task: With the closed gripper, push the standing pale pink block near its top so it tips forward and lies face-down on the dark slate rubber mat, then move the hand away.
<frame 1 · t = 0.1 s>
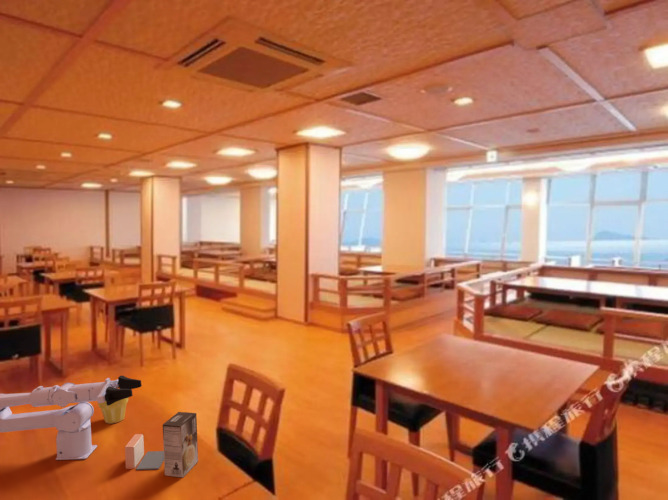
hand: (136, 388, 146), 22 cm above the table, tool horizontal, fingers open, 7 cm apart
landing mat: (152, 460, 142), on the table
coffee box: (181, 469, 137), on the table
pale pink block: (134, 461, 142), on the table
plant pot: (114, 420, 170), on the table
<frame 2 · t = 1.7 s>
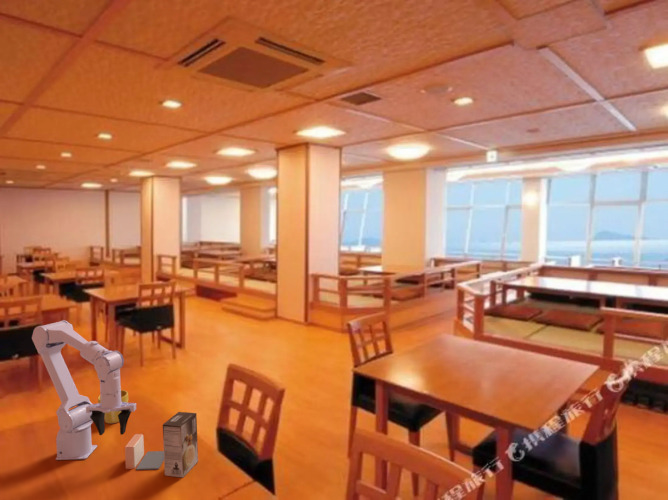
hand: (112, 433, 140), 9 cm above the table, tool pointing down, fingers open, 6 cm apart
nothing on the table moved.
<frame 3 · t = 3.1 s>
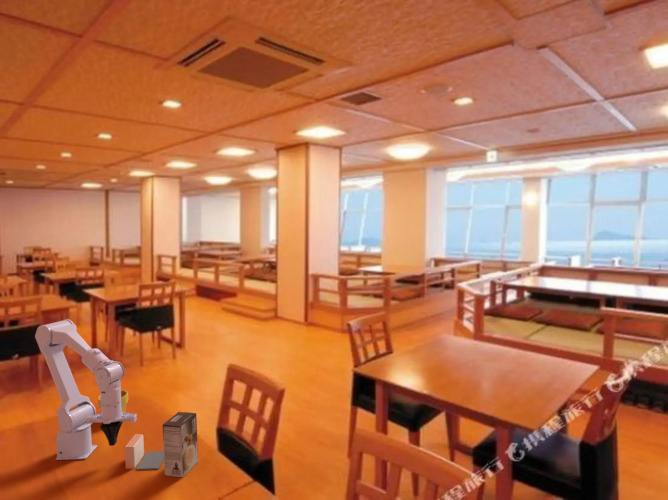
hand: (113, 444, 141), 6 cm above the table, tool pointing down, fingers closed
nothing on the table moved.
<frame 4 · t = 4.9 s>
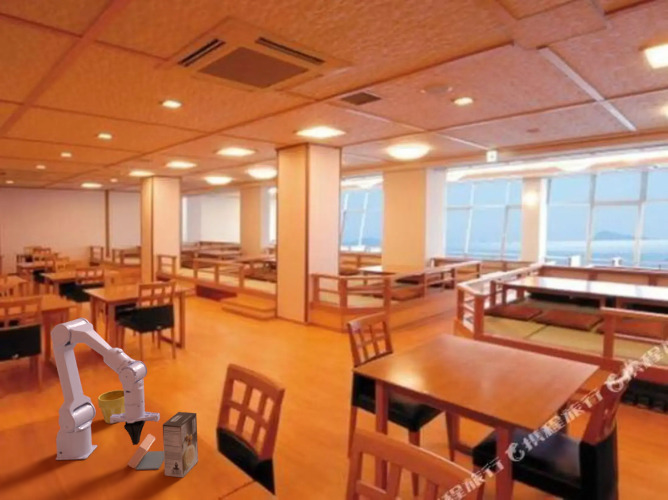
hand: (136, 443, 141), 6 cm above the table, tool pointing down, fingers closed
pale pink block: (135, 459, 141), point 1 cm above the table, tilted 35°
everything else where it was.
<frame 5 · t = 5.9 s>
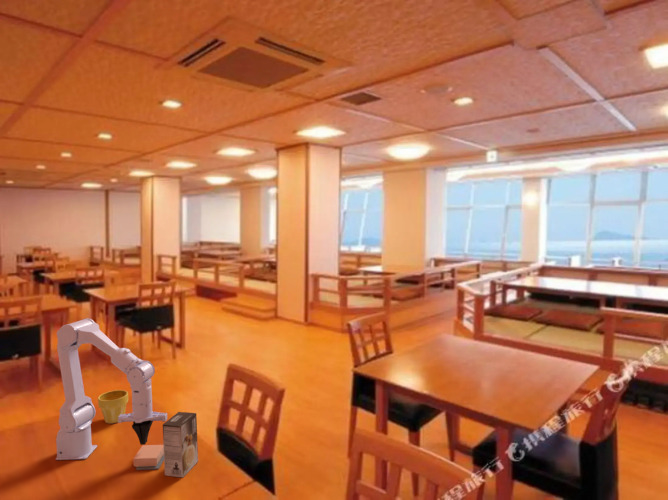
hand: (143, 443, 141), 6 cm above the table, tool pointing down, fingers closed
pale pink block: (138, 455, 141), point 2 cm above the table, tilted 90°, touching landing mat
everything else where it was.
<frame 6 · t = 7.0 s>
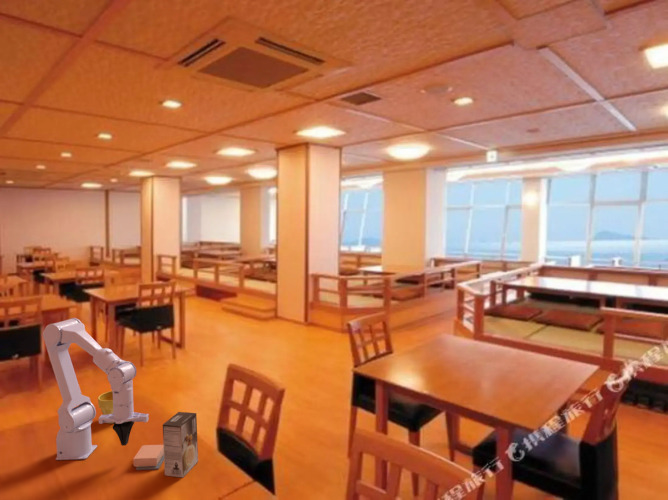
hand: (124, 443, 141), 6 cm above the table, tool pointing down, fingers closed
nothing on the table moved.
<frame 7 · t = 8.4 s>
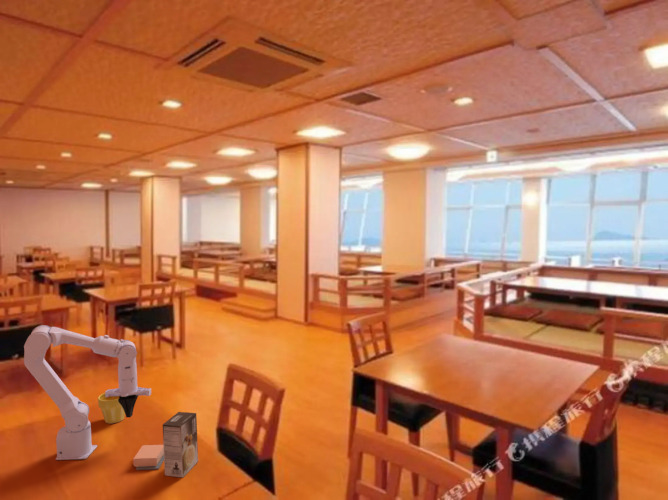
hand: (129, 416, 152), 9 cm above the table, tool pointing down, fingers closed
nothing on the table moved.
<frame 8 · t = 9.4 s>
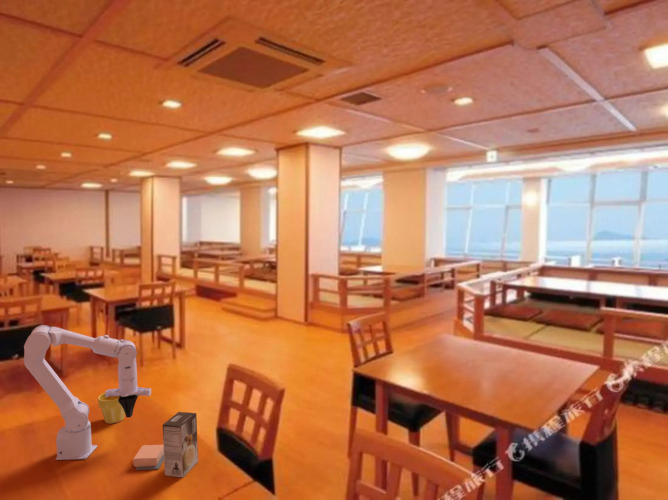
hand: (129, 416, 152), 9 cm above the table, tool pointing down, fingers closed
nothing on the table moved.
at the end: pale pink block tilted 90°; pale pink block inside the target area (3.3 cm from its centre), point 1.9 cm above the table; pale pink block touching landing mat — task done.
